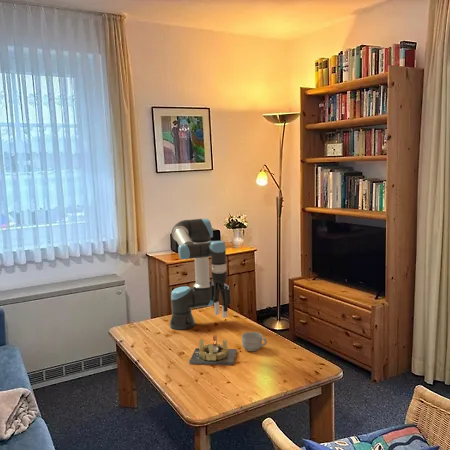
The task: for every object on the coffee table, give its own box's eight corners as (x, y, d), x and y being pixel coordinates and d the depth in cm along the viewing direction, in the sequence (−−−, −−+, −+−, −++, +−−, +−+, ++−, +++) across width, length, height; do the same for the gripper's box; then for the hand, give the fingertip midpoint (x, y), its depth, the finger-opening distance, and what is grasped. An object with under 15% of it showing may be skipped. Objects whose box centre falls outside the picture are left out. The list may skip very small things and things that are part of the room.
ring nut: (202, 348, 252) (201, 334, 251) (229, 348, 250) (228, 335, 249) (197, 360, 238) (196, 345, 237) (225, 360, 236) (225, 346, 235)
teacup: (237, 349, 253) (237, 335, 252) (251, 343, 261) (250, 329, 259) (258, 356, 243) (258, 341, 242) (271, 349, 251) (271, 335, 250)
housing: (195, 350, 254) (195, 340, 253) (237, 351, 250) (236, 341, 250) (189, 364, 238) (188, 353, 237) (233, 365, 235) (232, 354, 234)
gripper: (201, 270, 246) (204, 313, 249) (225, 276, 232) (227, 321, 236) (212, 267, 251) (214, 310, 254) (236, 273, 237) (238, 317, 241)
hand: (220, 315), depth 245 cm, fingers open, 5 cm apart
